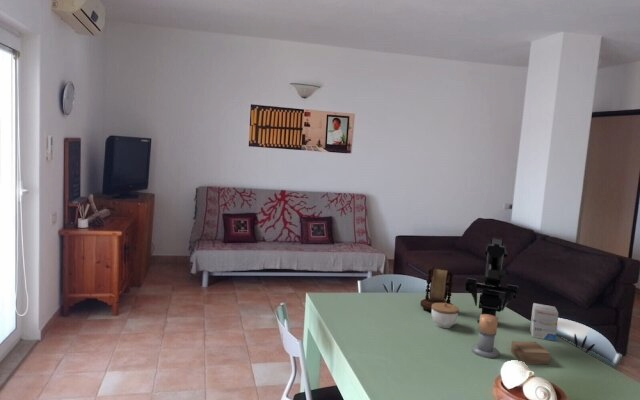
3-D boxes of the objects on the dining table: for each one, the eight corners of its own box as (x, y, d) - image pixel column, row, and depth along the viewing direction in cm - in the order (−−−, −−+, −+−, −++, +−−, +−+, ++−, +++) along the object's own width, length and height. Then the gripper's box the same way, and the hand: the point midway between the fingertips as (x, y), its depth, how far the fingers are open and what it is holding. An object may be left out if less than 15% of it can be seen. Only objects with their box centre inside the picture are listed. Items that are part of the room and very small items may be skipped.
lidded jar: (458, 332, 180) (460, 309, 179) (430, 328, 182) (432, 305, 181) (455, 322, 191) (458, 300, 190) (429, 318, 193) (431, 297, 192)
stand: (510, 351, 165) (511, 341, 164) (534, 352, 165) (535, 342, 165) (523, 363, 156) (525, 352, 155) (548, 364, 157) (550, 353, 156)
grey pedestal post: (478, 344, 169) (481, 324, 168) (502, 353, 163) (505, 332, 162) (467, 351, 163) (469, 329, 162) (491, 360, 156) (494, 338, 155)
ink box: (552, 333, 186) (555, 306, 185) (555, 341, 178) (559, 312, 177) (529, 329, 189) (532, 302, 187) (531, 337, 181) (535, 308, 179)
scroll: (417, 311, 201) (421, 266, 199) (423, 301, 215) (427, 260, 213) (451, 317, 196) (456, 272, 194) (455, 308, 209) (459, 265, 207)
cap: (479, 326, 166) (480, 312, 165) (496, 329, 163) (498, 316, 163) (477, 333, 158) (479, 319, 158) (496, 337, 156) (497, 323, 156)
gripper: (468, 257, 176) (463, 291, 167) (521, 264, 169) (518, 301, 159) (468, 273, 184) (462, 307, 174) (518, 281, 177) (515, 316, 167)
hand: (489, 307), depth 169 cm, fingers open, 9 cm apart
